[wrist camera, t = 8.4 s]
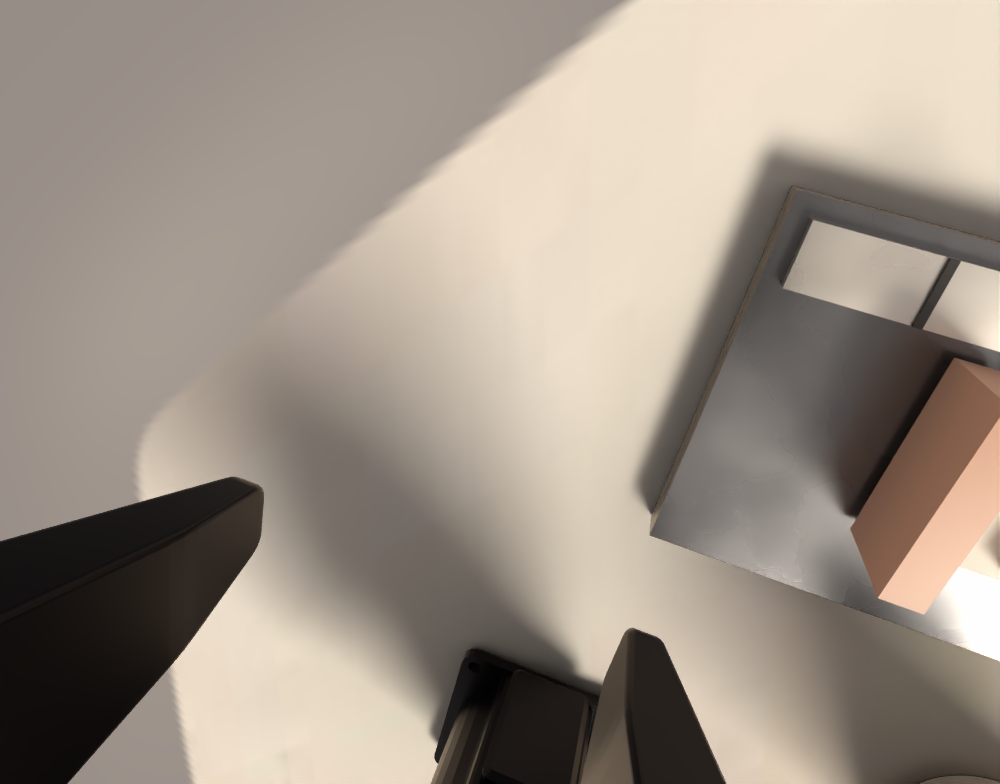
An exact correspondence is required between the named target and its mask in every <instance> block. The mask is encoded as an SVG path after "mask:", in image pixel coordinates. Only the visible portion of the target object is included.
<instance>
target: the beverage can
mask: <svg viewBox="0 0 1000 784" xmlns="http://www.w3.org/2000/svg"><path fill="white" fill-rule="evenodd" d="M919 784H1000V782H998V781H995V780H991V779H987V778H982V777H975V776H961V775H957V776H944V777H938V778H933V779H930V780H926V781H924V782H921V783H919Z"/></svg>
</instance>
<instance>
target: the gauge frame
mask: <svg viewBox="0 0 1000 784" xmlns="http://www.w3.org/2000/svg"><path fill="white" fill-rule="evenodd" d="M954 358H958V359H961V360H964V361H968V362H971V363H974V364H978V365H981V366H984V367H988V368H991V369H995V370H998V371H1000V242H998V241H995V240H991V239H987V238H983V237H980V236H976V235H972V234H969V233H965V232H961V231H958V230H954V229H950V228H946V227H943V226H939V225H935V224H932V223H928V222H924V221H921V220H917V219H913V218H909V217H906V216H902V215H898V214H895V213H891V212H887V211H884V210H880V209H876V208H872V207H869V206H865V205H861V204H858V203H854V202H850V201H847V200H843V199H839V198H835V197H832V196H828V195H824V194H821V193H817V192H813V191H810V190H806V189H802V188H798V187H795V186H791V189H790V191H789V193H788V196H787V198H786V200H785V203H784V205H783V208H782V210H781V212H780V215H779V217H778V219H777V222H776V224H775V226H774V229H773V231H772V233H771V236H770V238H769V240H768V243H767V245H766V248H765V250H764V252H763V255H762V257H761V259H760V262H759V264H758V266H757V269H756V271H755V273H754V276H753V278H752V280H751V283H750V285H749V288H748V290H747V292H746V295H745V297H744V299H743V302H742V304H741V306H740V309H739V311H738V313H737V316H736V318H735V320H734V323H733V325H732V328H731V330H730V332H729V335H728V337H727V339H726V342H725V344H724V346H723V349H722V351H721V353H720V356H719V358H718V360H717V363H716V365H715V368H714V370H713V372H712V375H711V377H710V379H709V382H708V384H707V386H706V389H705V391H704V393H703V396H702V398H701V400H700V403H699V405H698V408H697V410H696V412H695V415H694V417H693V419H692V422H691V424H690V426H689V429H688V431H687V433H686V436H685V438H684V440H683V443H682V445H681V448H680V450H679V452H678V455H677V457H676V459H675V462H674V464H673V466H672V469H671V471H670V473H669V476H668V478H667V480H666V483H665V485H664V488H663V490H662V492H661V495H660V497H659V499H658V502H657V504H656V506H655V509H654V511H653V513H652V516H651V525H650V536H653V537H656V538H659V539H662V540H664V541H667V542H670V543H673V544H676V545H678V546H681V547H684V548H687V549H689V550H692V551H695V552H698V553H701V554H703V555H706V556H709V557H712V558H714V559H717V560H720V561H723V562H726V563H728V564H731V565H734V566H737V567H740V568H742V569H745V570H748V571H751V572H753V573H756V574H759V575H762V576H765V577H767V578H770V579H773V580H776V581H779V582H781V583H784V584H787V585H790V586H792V587H795V588H798V589H801V590H804V591H806V592H809V593H812V594H815V595H817V596H820V597H823V598H826V599H829V600H831V601H834V602H837V603H840V604H843V605H845V606H848V607H851V608H854V609H856V610H859V611H862V612H865V613H868V614H870V615H873V616H876V617H879V618H882V619H884V620H887V621H890V622H893V623H895V624H898V625H901V626H904V627H907V628H909V629H912V630H915V631H918V632H920V633H923V634H926V635H929V636H932V637H934V638H937V639H940V640H943V641H946V642H948V643H951V644H954V645H957V646H959V647H962V648H965V649H968V650H971V651H973V652H976V653H979V654H982V655H985V656H987V657H990V658H993V659H996V660H998V661H1000V581H998V580H995V579H992V578H989V577H986V576H983V575H980V574H977V573H974V572H971V571H969V570H966V569H963V568H960V567H959V568H958V569H957V570H956V572H955V573H954V574H953V576H952V577H951V579H950V580H949V581H948V583H947V584H946V585H945V587H944V588H943V590H942V591H941V592H940V594H939V595H938V596H937V598H936V599H935V600H934V602H933V603H932V605H931V606H930V607H929V609H928V610H927V611H926V613H925V614H921V613H918V612H915V611H912V610H910V609H907V608H904V607H901V606H898V605H896V604H893V603H890V602H887V601H884V600H881V599H879V598H877V595H876V593H875V590H874V588H873V585H872V583H871V580H870V578H869V575H868V573H867V570H866V568H865V565H864V563H863V560H862V558H861V555H860V552H859V550H858V547H857V545H856V542H855V540H854V537H853V535H852V532H851V530H850V528H851V526H852V525H853V523H854V522H855V520H856V518H857V517H858V515H859V513H860V512H861V510H862V508H863V507H864V505H865V503H866V502H867V500H868V499H869V497H870V495H871V494H872V492H873V490H874V489H875V487H876V485H877V484H878V482H879V480H880V479H881V477H882V476H883V474H884V472H885V471H886V469H887V467H888V466H889V464H890V462H891V461H892V459H893V457H894V456H895V454H896V452H897V451H898V449H899V448H900V446H901V444H902V443H903V441H904V439H905V438H906V436H907V434H908V433H909V431H910V429H911V428H912V426H913V425H914V423H915V421H916V420H917V418H918V416H919V415H920V413H921V411H922V410H923V408H924V406H925V405H926V403H927V402H928V400H929V398H930V397H931V395H932V393H933V392H934V390H935V388H936V387H937V385H938V383H939V382H940V380H941V378H942V377H943V375H944V374H945V372H946V370H947V369H948V367H949V365H950V364H951V362H952V360H953V359H954Z"/></svg>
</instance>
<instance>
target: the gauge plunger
mask: <svg viewBox="0 0 1000 784" xmlns="http://www.w3.org/2000/svg"><path fill="white" fill-rule="evenodd" d="M850 530H851V532H852V535H853V537H854V540H855V542H856V545H857V547H858V550H859V552H860V555H861V558H862V560H863V563H864V565H865V568H866V570H867V573H868V575H869V578H870V580H871V583H872V585H873V588H874V590H875V593H876V595H877V598H879V599H881V600H884V601H887V602H890V603H893V604H896V605H898V606H901V607H904V608H907V609H910V610H912V611H915V612H918V613H921V614H925V613H926V611H927V610H928V609H929V607H930V606H931V605H932V603H933V602H934V600H935V599H936V598H937V596H938V595H939V594H940V592H941V591H942V590H943V588H944V587H945V585H946V584H947V583H948V581H949V580H950V579H951V577H952V576H953V574H954V573H955V572H956V570H957V569H958V568H959V567H960V568H963V569H966V570H969V571H971V572H974V573H977V574H980V575H983V576H986V577H989V578H992V579H995V580H998V581H1000V371H998V370H995V369H991V368H988V367H984V366H981V365H978V364H974V363H971V362H968V361H964V360H961V359H958V358H954V359H953V360H952V362H951V364H950V365H949V367H948V369H947V370H946V372H945V374H944V375H943V377H942V378H941V380H940V382H939V383H938V385H937V387H936V388H935V390H934V392H933V393H932V395H931V397H930V398H929V400H928V402H927V403H926V405H925V406H924V408H923V410H922V411H921V413H920V415H919V416H918V418H917V420H916V421H915V423H914V425H913V426H912V428H911V429H910V431H909V433H908V434H907V436H906V438H905V439H904V441H903V443H902V444H901V446H900V448H899V449H898V451H897V452H896V454H895V456H894V457H893V459H892V461H891V462H890V464H889V466H888V467H887V469H886V471H885V472H884V474H883V476H882V477H881V479H880V480H879V482H878V484H877V485H876V487H875V489H874V490H873V492H872V494H871V495H870V497H869V499H868V500H867V502H866V503H865V505H864V507H863V508H862V510H861V512H860V513H859V515H858V517H857V518H856V520H855V522H854V523H853V525H852V526H851V528H850Z"/></svg>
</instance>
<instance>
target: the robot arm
mask: <svg viewBox="0 0 1000 784" xmlns="http://www.w3.org/2000/svg"><path fill="white" fill-rule="evenodd" d="M263 504H264V492H263V489H262V488H261V487H260V486H259V485H257V484H255V483H252V482H249V481H247V480H244V479H241V478H239V477H228V478H224V479H220V480H217V481H213V482H210V483H206V484H203V485H199V486H196V487H192V488H188V489H185V490H181V491H178V492H174V493H171V494H167V495H163V496H160V497H156V498H153V499H149V500H146V501H142V502H138V503H135V504H132V505H128V506H124V507H121V508H118V509H114V510H110V511H107V512H103V513H99V514H96V515H93V516H89V517H85V518H82V519H78V520H74V521H71V522H67V523H64V524H60V525H57V526H53V527H49V528H46V529H42V530H39V531H35V532H32V533H28V534H25V535H21V536H17V537H14V538H10V539H7V540H3V541H0V784H68V782H69V781H70V780H71V779H72V778H73V777H74V776H75V774H76V773H77V772H78V771H79V770H80V769H81V768H82V766H83V765H84V764H85V763H86V762H87V761H88V760H89V758H90V757H91V756H92V755H93V754H94V753H95V752H96V751H97V749H98V748H99V747H100V746H101V745H102V744H103V743H104V741H105V740H106V739H107V738H108V737H109V736H110V735H111V733H112V732H113V731H114V730H115V729H116V728H117V727H118V725H119V724H120V723H121V722H122V720H124V719H125V717H126V716H127V715H128V714H129V713H130V712H131V711H132V709H133V708H134V707H135V706H136V705H137V704H138V703H139V701H140V700H141V699H142V698H143V697H144V696H145V695H146V693H147V692H148V691H149V690H150V689H151V688H152V687H153V686H154V684H155V683H156V682H157V681H158V680H159V679H160V677H161V676H162V675H163V674H164V673H165V672H166V671H167V670H168V668H169V667H170V666H171V665H172V664H173V663H174V661H175V660H176V659H177V658H178V657H179V655H180V654H181V653H182V652H183V651H184V649H185V648H186V647H187V645H188V644H189V643H190V641H191V640H192V639H193V637H194V636H195V635H196V633H197V632H198V630H199V629H200V628H201V626H202V625H203V623H204V622H205V621H206V619H207V618H208V616H209V615H210V614H211V612H212V611H213V609H214V608H215V607H216V605H217V604H218V602H219V601H220V600H221V598H222V597H223V595H224V594H225V593H226V591H227V590H228V588H229V587H230V586H231V584H232V583H233V581H234V580H235V579H236V577H237V576H238V574H239V573H240V572H241V570H242V569H243V567H244V566H245V564H246V563H247V562H248V560H249V559H250V557H251V556H252V555H253V553H254V552H255V550H256V548H257V546H258V543H259V541H260V537H261V529H262V517H263ZM474 662H476V663H478V664H476V663H474ZM435 761H436V762H437V763H438V766H437V769H436V771H435V774H434V777H433V779H432V782H431V784H726V782H725V779H724V777H723V775H722V773H721V770H720V768H719V766H718V764H717V761H716V759H715V757H714V755H713V752H712V750H711V748H710V746H709V744H708V741H707V739H706V737H705V735H704V732H703V730H702V728H701V726H700V723H699V721H698V719H697V717H696V714H695V712H694V710H693V708H692V705H691V703H690V701H689V699H688V696H687V694H686V692H685V690H684V687H683V685H682V683H681V681H680V679H679V676H678V674H677V672H676V670H675V667H674V665H673V663H672V661H671V658H670V656H669V654H668V652H667V649H666V647H665V645H664V643H663V642H662V641H661V639H659V638H658V637H656V636H653V635H650V634H648V633H645V632H642V631H640V630H637V629H635V628H630V629H628V630H627V631H626V632H625V633H624V635H623V637H622V639H621V642H620V644H619V646H618V648H617V651H616V653H615V655H614V657H613V660H612V662H611V664H610V666H609V669H608V671H607V673H606V676H605V679H604V682H603V685H602V689H601V693H600V697H597V696H595V695H592V694H590V693H587V692H585V691H582V690H580V689H577V688H575V687H572V686H570V685H567V684H565V683H562V682H560V681H557V680H555V679H552V678H550V677H547V676H545V675H542V674H540V673H537V672H535V671H533V670H530V669H528V668H525V667H523V666H520V665H518V664H515V663H513V662H510V661H508V660H505V659H503V658H500V657H498V656H495V655H493V654H490V653H488V652H485V651H483V650H480V649H470V650H468V651H467V652H466V654H465V656H464V659H463V661H462V664H461V667H460V671H459V674H458V677H457V681H456V684H455V688H454V691H453V694H452V698H451V701H450V705H449V708H448V711H447V715H446V718H445V721H444V725H443V728H442V732H441V735H440V738H439V742H438V745H437V749H436V752H435Z"/></svg>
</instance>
